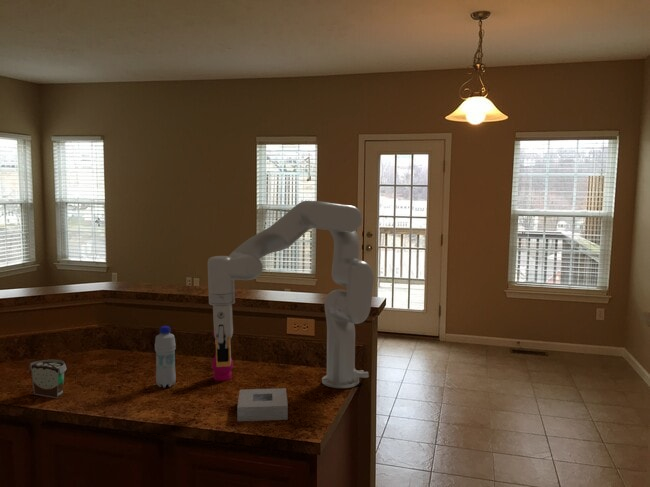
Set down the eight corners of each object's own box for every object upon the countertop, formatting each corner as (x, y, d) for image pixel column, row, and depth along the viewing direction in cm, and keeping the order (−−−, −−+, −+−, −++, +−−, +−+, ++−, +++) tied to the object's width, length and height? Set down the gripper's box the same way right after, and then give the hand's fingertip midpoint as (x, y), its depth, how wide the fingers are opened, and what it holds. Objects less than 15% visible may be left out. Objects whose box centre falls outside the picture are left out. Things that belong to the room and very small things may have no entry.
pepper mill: (228, 382, 183) (228, 323, 181) (208, 380, 185) (207, 322, 183) (236, 375, 190) (235, 319, 188) (216, 373, 192) (216, 318, 190)
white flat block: (285, 400, 167) (285, 388, 167) (287, 419, 153) (287, 405, 153) (239, 402, 165) (239, 389, 165) (237, 421, 152) (237, 407, 151)
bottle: (157, 382, 183) (156, 323, 181) (178, 381, 183) (177, 323, 181) (153, 389, 176) (152, 328, 174) (174, 388, 176) (173, 328, 175)
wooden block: (231, 362, 163) (230, 332, 162) (230, 366, 159) (229, 336, 158) (217, 362, 163) (216, 333, 162) (216, 366, 159) (215, 336, 158)
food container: (76, 392, 173) (75, 361, 172) (61, 398, 167) (60, 367, 166) (46, 387, 177) (45, 357, 176) (30, 393, 171) (29, 362, 170)
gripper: (233, 303, 151) (234, 367, 153) (236, 292, 168) (237, 350, 170) (205, 304, 150) (207, 368, 152) (211, 293, 167) (213, 351, 169)
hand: (223, 358), depth 161 cm, fingers closed on wooden block, 4 cm apart
